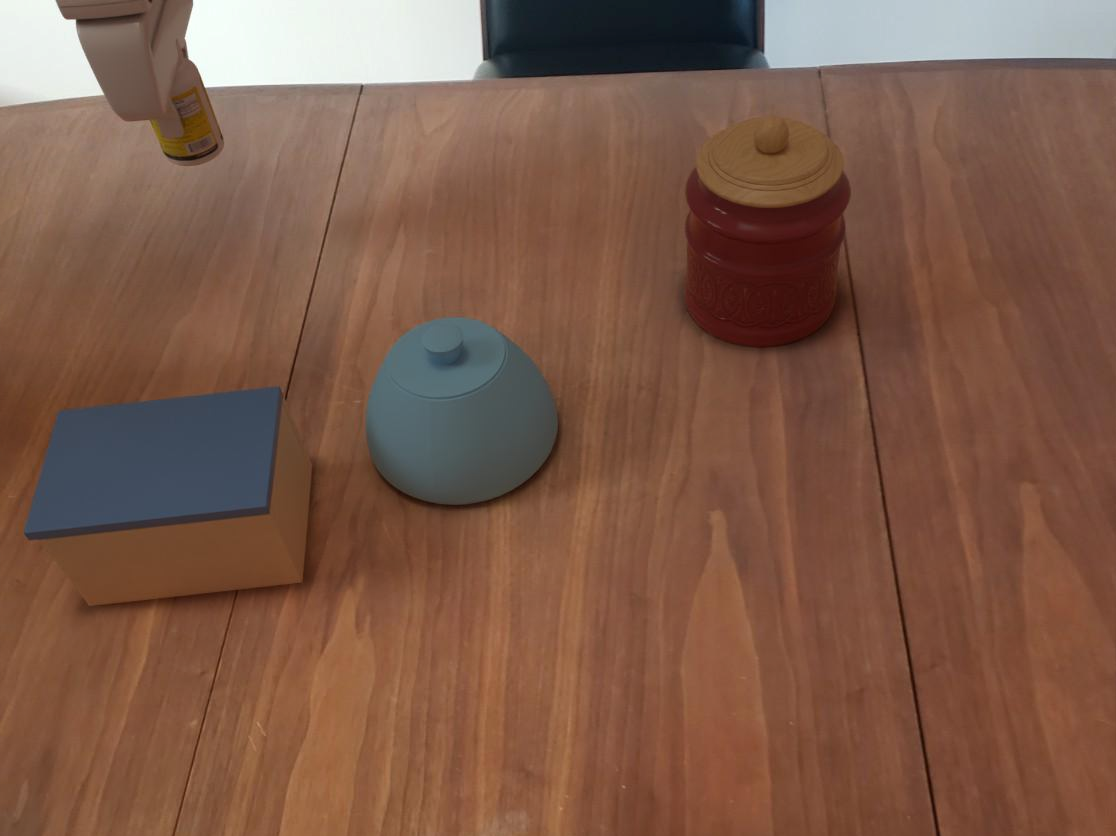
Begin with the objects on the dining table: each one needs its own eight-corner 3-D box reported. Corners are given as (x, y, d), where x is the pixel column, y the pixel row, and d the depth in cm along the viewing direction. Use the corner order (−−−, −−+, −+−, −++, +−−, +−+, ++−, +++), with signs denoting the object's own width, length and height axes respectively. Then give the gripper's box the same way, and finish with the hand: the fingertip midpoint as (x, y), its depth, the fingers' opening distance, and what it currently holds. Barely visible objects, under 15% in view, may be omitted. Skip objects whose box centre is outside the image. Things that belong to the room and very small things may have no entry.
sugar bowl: (436, 364, 93) (409, 251, 84) (591, 412, 89) (581, 297, 79) (338, 484, 85) (296, 374, 76) (503, 543, 81) (480, 434, 72)
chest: (96, 615, 79) (38, 540, 72) (122, 497, 86) (71, 417, 79) (306, 591, 79) (270, 514, 72) (316, 475, 86) (283, 394, 79)
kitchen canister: (727, 377, 90) (737, 188, 76) (659, 288, 97) (656, 101, 83) (862, 328, 92) (896, 136, 78) (786, 245, 100) (804, 56, 85)
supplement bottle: (180, 132, 99) (138, 24, 91) (235, 136, 98) (197, 27, 90) (154, 166, 96) (109, 57, 88) (210, 170, 95) (170, 61, 87)
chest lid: (28, 540, 72) (22, 533, 72) (63, 418, 79) (57, 410, 78) (269, 514, 72) (266, 506, 72) (283, 393, 79) (279, 385, 78)
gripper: (98, -111, 89) (161, 55, 100) (48, 9, 77) (126, 183, 88) (175, -118, 89) (229, 49, 100) (136, 0, 77) (203, 175, 88)
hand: (180, 113), depth 94 cm, fingers closed on supplement bottle, 5 cm apart
